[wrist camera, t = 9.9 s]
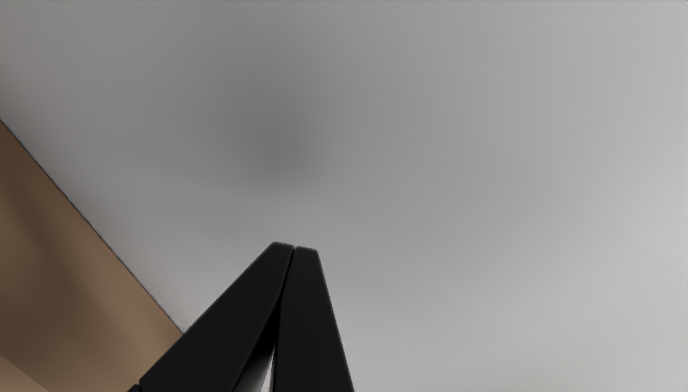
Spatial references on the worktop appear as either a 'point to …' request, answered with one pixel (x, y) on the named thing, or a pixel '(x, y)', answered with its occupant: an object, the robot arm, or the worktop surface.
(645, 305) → the worktop surface
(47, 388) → the link
